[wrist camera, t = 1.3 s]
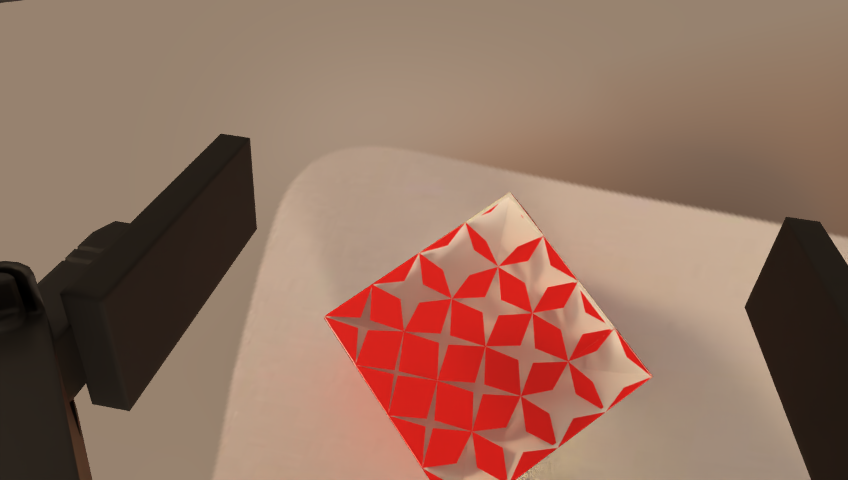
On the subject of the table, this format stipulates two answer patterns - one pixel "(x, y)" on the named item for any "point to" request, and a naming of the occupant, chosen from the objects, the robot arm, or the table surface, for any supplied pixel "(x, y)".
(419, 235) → the table surface
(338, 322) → the red patterned cube
